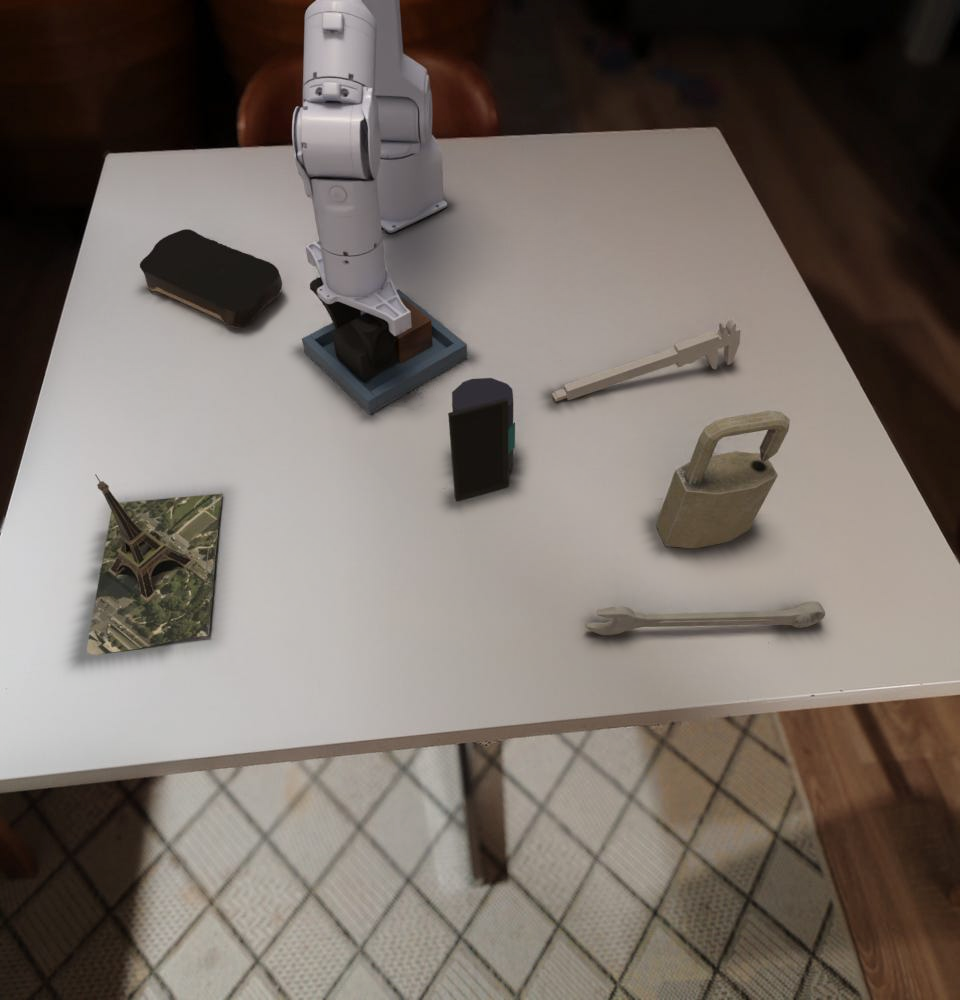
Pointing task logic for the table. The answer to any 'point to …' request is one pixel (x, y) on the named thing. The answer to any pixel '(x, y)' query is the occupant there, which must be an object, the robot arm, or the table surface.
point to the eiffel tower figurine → (155, 572)
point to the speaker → (481, 436)
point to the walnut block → (414, 335)
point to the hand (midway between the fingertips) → (365, 349)
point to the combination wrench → (705, 618)
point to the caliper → (661, 361)
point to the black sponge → (211, 277)
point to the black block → (356, 352)
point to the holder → (394, 378)
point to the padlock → (721, 484)
